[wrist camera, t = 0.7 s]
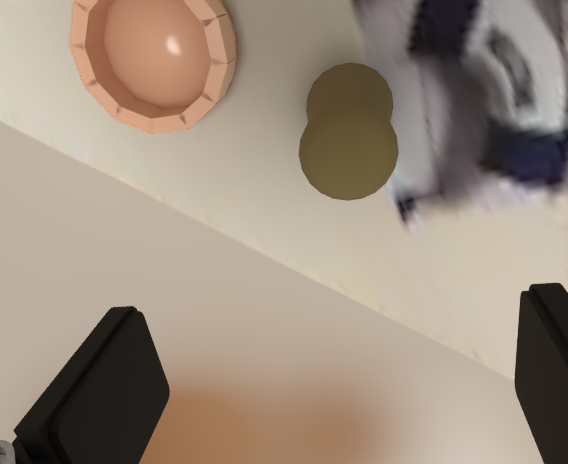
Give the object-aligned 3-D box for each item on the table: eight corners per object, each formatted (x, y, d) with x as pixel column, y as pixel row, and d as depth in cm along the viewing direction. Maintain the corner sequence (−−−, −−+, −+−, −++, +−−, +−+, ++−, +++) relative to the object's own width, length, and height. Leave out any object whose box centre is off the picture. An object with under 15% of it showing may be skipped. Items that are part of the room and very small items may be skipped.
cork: (406, 76, 31) (429, 122, 22) (375, 158, 34) (384, 230, 25) (319, 52, 31) (305, 87, 21) (297, 136, 34) (275, 199, 25)
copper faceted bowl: (75, -21, 31) (45, -20, 28) (217, -52, 29) (202, -55, 26) (125, 126, 35) (103, 140, 32) (250, 107, 33) (240, 121, 30)
